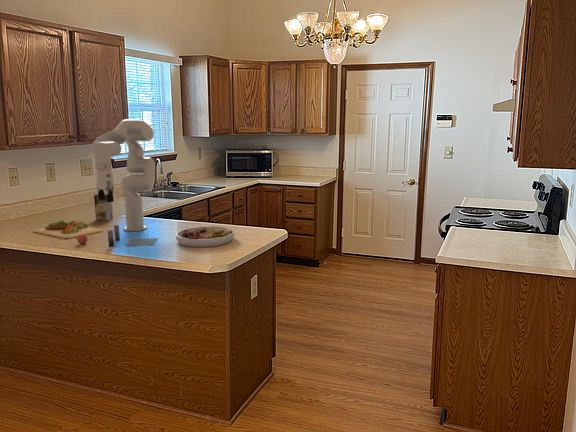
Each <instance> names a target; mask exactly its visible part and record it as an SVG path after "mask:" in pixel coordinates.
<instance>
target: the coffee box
mask: <svg viewBox="0 0 576 432" xmlns="http://www.w3.org/2000/svg"><path fill="white" fill-rule="evenodd" d="M106 194H107V193H105V200H99V199H98V193H97V194H94V195H93V200H94V201H93V202H94V213H95V220H97V221H110V220H113V219H114V213H113V212H114V211H113V210H114V209H113V202H107V196H106Z"/></svg>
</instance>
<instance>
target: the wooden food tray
mask: <svg viewBox="0 0 576 432" xmlns="http://www.w3.org/2000/svg"><path fill="white" fill-rule="evenodd" d="M35 232H38V233H37V234H39V233H42V234H41V235H44V234H48V235H52V236H51V237H53V236H56V237H55V238H57V237H61V238H60V239H62V238H72V239H75V238H74V237H78V236H79V235H81V234H84V235H86V236H89V235H88V234H90V235H93V233H94V234H99V233H102V232H103V229H102V228H98V227H93V226H89V224H88V223H85V222H84V221H83V220H80V221H77V220H71V221H64V219H60V220H58V221H57V222H53V223H49V224H48V225H46V226H45V227H40V228H35V229H33V233H35ZM98 232H99V233H98ZM48 235H47V236H48Z"/></svg>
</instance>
